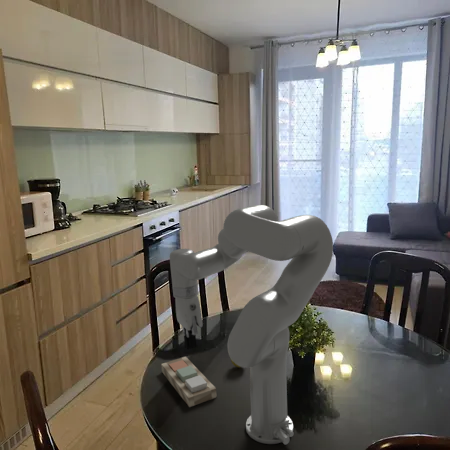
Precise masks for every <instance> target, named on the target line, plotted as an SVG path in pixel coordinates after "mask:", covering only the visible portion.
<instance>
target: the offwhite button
mask: <svg viewBox="0 0 450 450" xmlns="http://www.w3.org/2000/svg"><path fill="white" fill-rule="evenodd" d="M185 384H186V387H187V388H188V390H189V391H190V392H191V393H194V392H197V391H200V390H203V389H206V388H207V382H206V381H205V380H204V379H203V378H202V377H201V376H200V375H199V376H196V377H193V378H190V379H187V380H185Z"/></svg>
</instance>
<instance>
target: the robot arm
mask: <svg viewBox="0 0 450 450" xmlns="http://www.w3.org/2000/svg"><path fill="white" fill-rule="evenodd" d="M247 252H249V253H252V254H255V255H258V256H261V257H263V258H266V259H269V260H270V261H271V260H272V261H277V262H278V261H279V262H284V261H289V260H290V261H289V262H288V263H287V265H286V266H285V267H284V269H283V270H282V271H281V274H280V275H279V278H278V280H277V281H276V283H275V284H274V285H273V286H272V287H271V288H270V289H268V290H266V291H264V292H262V293H260V294H257V295H256V296H254V297H252V298H250V300H249V301H248V302H247V303H246V304H245V305H244V307H243V308H242V310H241V312H240V314H239V315H238V318H237V319H236V321H235V323H234V325H233V327H232V329H231V331H230V333H229V335H228V339H227V344H226V346H227V352H228V356H229V357H230V360H231V359H232V361H233V362H234V363H235V364H236V365H238V366H240V368H245V369H246V368H247V369H248V368H249V389H250V390H249V391H250V393H249V395H250V415H249V417H247V419H246V422H245V431H246V433H247V434H248V436H249V437H250V438H251V439H253V440H254V441H256V442H258V443H261V444H267V445H276V444H279V443H283V445H288V444H289V443H290V440H291V438H292V437H293V436H294V435H295V432H294V423H293V420H292V418H290V416H289V415H288V395H287V394H288V393H287V391H288V390H287V389H288V388H287V386H288V385H287V384H288V383H287V382H288V381H287V364H288V363H287V361H288V352H289V351H288V350H289V345H290V330H289V327H290V326H291V325H293V324H294V323H295V322H296V321H297V320H298V319H299V317H300V316H301V314H302V312H304V310H305V308H306V307H307V304H308V303H309V301H310V300H311V299H312V297H313V294H314V293H315V291H316V290H317V287H318V286H319V285H320V283H321V281H322V279H324V276H325V275H326V273H327V272H328V269H329V267H330V265H331V262H332V258H333V255H334V254H333V253H334V241H333V237H332V234H331V231H330V228H329V227H328V225H327V224H326V223H325V221H323V219H321V218H320V217H318V216H315V215H312V214H301V215H297V216H292V217H289V218H286V219H283V220H279V219H278V215H277V212H275V210H274V209H273V208H272V207H269V206H268V205H265V204H257V205H251V206H247V207H246V206H245V207H242V208H237V209H234V210H233V211H231V212H229V214H227V216H226V217H225V219H224V222H223V227H222V229H220V231H219V233H218V235H217V244H216V245H214V246H212V247H210V248H207V249H203V250H200V251H197V252H195V251H194V250H193V249H190V248H179V249H178V248H177V249H175V250H173V251H171V252H170V254H169V264H170V274H171V275H170V276H171V284H172V287H171V288H172V293H173V298H175V299H174V301H175V314H176V320H177V323H178V324H180V325H181V327H182V332H183V333H182V334H183V339H184V348H185V349H186V350H190V349H191V350H192V349H195V348H196V347H197V340H196V339H197V338H196V337H197V335H198V333H199V331H198V327H199V328H202V327H203V324H204V323H203V318H202V317H203V316H202V310H201V304H200V299H199V287H198V285H199V284H198V281H199V280H202V279H204V278H207V277H209V276H212V275H216V274H218V273H220V272H222V271H225V270H226V269H228V268H229V267H230V266H232V265H234V264H235V263H237V262H238V261H239V260H240V259H241V258H242V257H243V256H244V254H246V253H247Z"/></svg>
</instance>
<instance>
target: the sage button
mask: <svg viewBox="0 0 450 450" xmlns="http://www.w3.org/2000/svg"><path fill="white" fill-rule="evenodd" d="M177 376H178V378H179V379H180V380H181V381H182V382H185V380H187V379H190V378H193V377H196V376H197V372H196V370H195V369H194V368H193V367H192V366H187V367H184V368H181V369H178V370H177Z"/></svg>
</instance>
